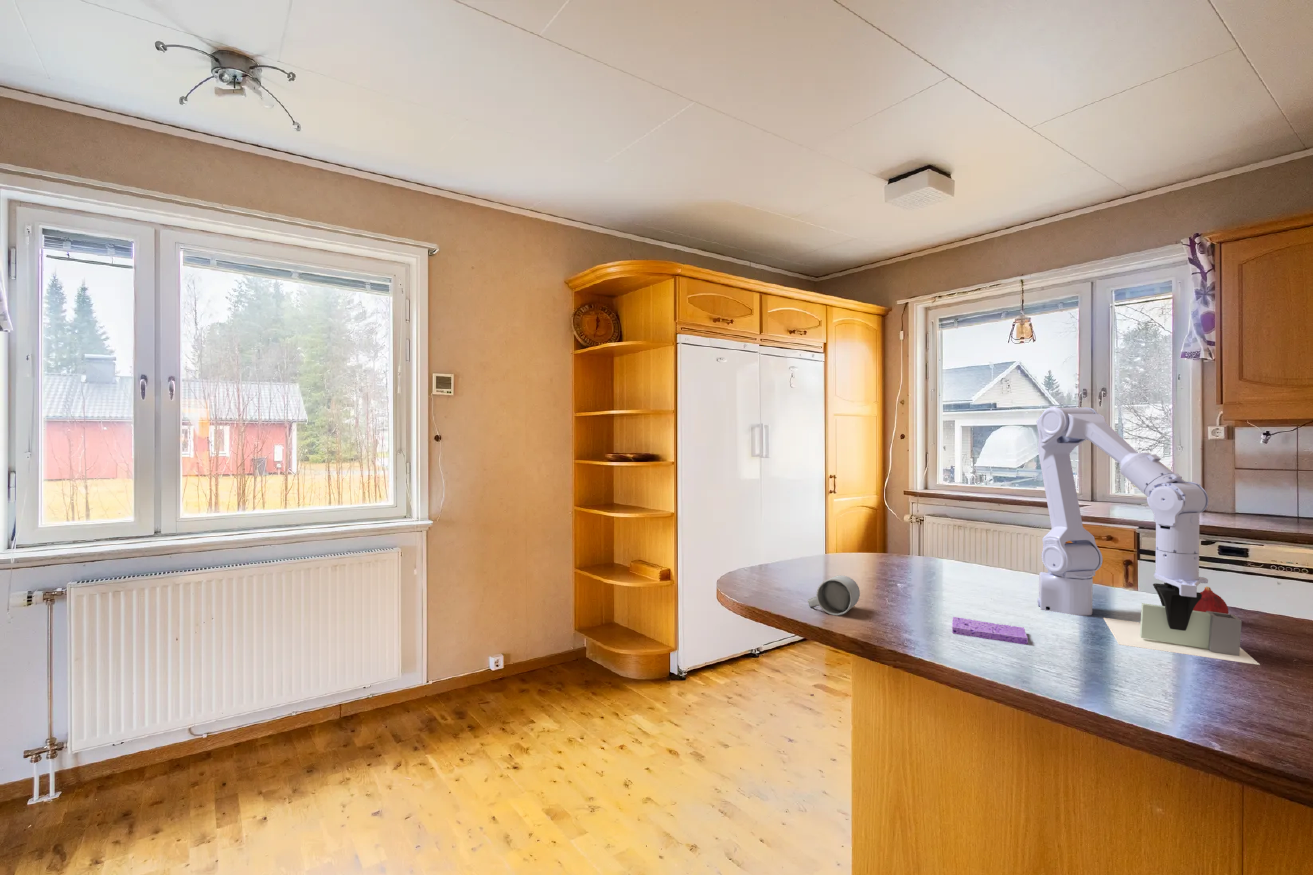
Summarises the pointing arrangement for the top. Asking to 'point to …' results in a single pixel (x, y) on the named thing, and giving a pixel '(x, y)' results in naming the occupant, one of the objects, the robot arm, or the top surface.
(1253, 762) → the top surface
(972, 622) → the sponges
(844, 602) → the ceramic mug
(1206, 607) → the onion
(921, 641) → the top surface
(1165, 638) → the door leaf
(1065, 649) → the top surface
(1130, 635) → the board
